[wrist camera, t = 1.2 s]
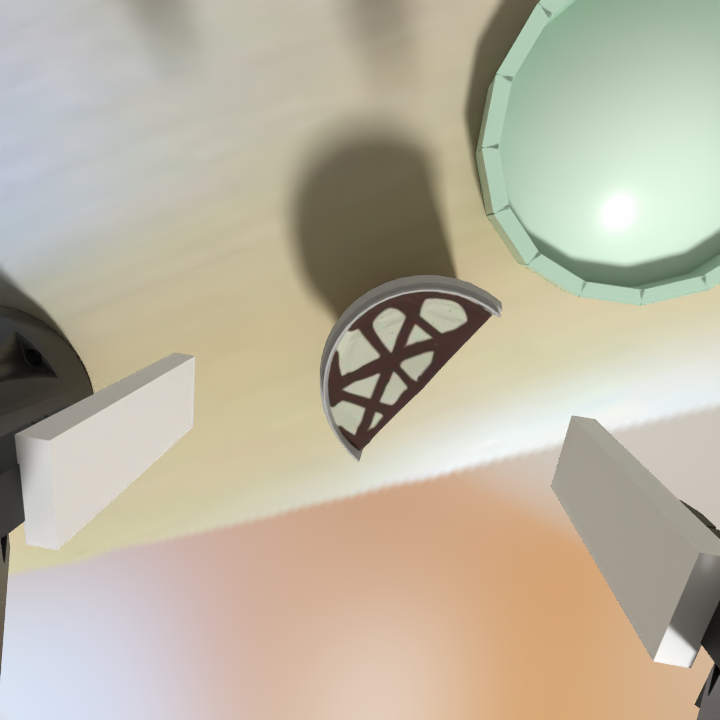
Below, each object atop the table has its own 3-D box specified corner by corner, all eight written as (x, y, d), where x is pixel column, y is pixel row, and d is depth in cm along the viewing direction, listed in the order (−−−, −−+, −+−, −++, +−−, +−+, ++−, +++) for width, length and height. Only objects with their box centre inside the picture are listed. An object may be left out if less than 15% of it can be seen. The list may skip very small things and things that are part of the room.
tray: (452, 275, 31) (456, 278, 29) (517, -66, 26) (529, -97, 23) (740, 317, 30) (768, 324, 28) (875, -30, 25) (925, -59, 22)
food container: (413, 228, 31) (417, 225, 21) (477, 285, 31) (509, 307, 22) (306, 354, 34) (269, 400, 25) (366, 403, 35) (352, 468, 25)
